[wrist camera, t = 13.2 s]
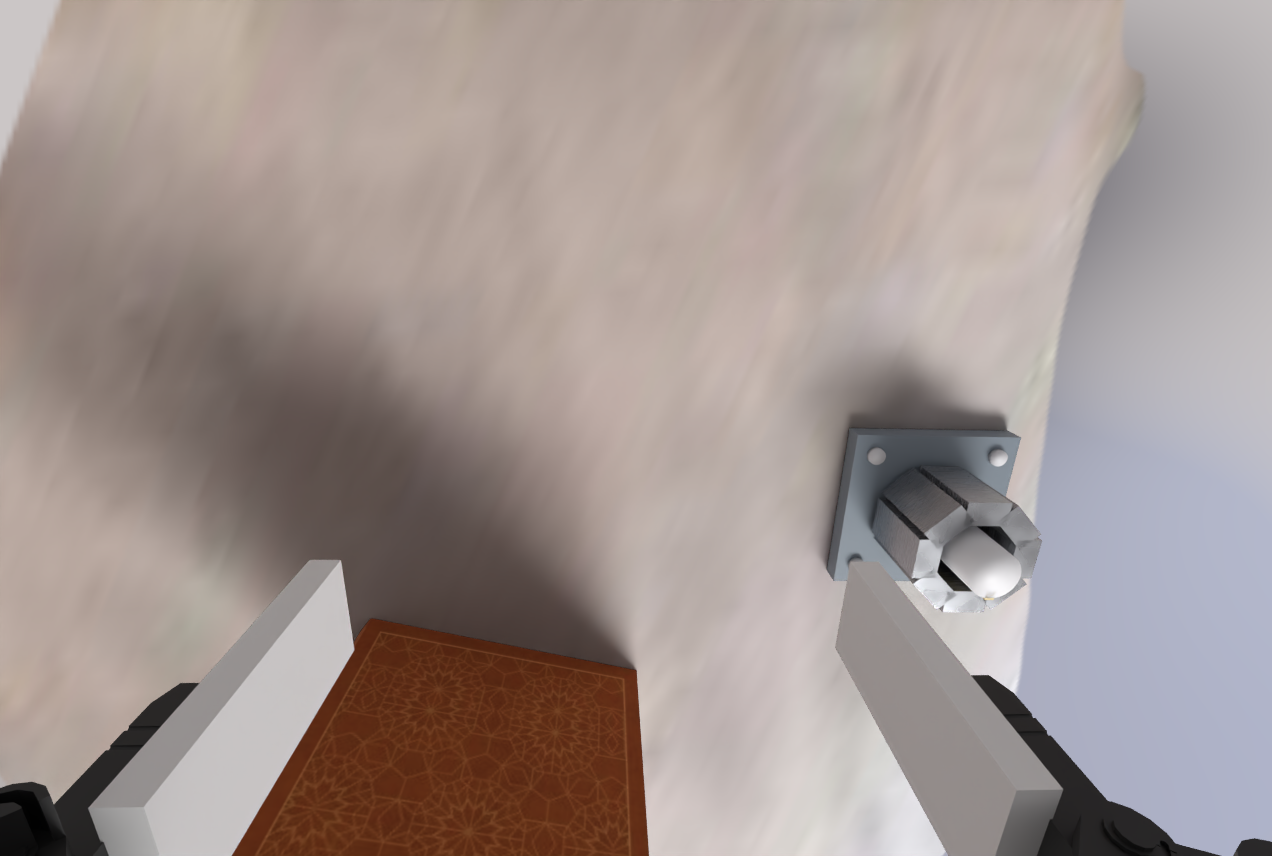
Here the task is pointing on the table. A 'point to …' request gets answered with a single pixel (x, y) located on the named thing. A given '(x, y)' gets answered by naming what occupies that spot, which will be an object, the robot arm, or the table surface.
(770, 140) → the table surface
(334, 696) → the book
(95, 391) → the table surface
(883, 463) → the shaft block
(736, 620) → the table surface
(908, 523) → the hub
